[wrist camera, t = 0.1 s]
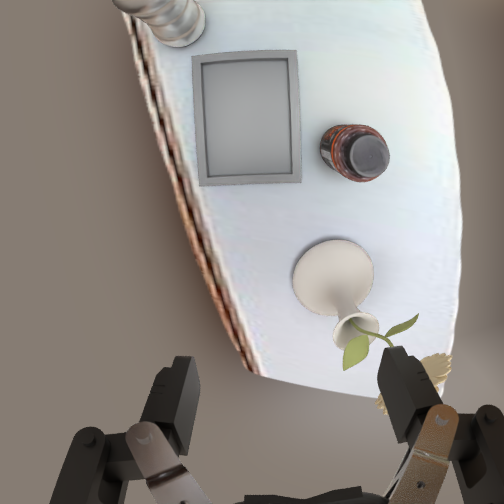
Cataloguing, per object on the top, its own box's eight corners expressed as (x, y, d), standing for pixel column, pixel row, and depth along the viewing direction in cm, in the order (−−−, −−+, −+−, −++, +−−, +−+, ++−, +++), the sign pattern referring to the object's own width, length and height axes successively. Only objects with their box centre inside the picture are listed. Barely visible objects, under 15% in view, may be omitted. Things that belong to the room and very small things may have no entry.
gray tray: (196, 60, 33) (191, 56, 30) (294, 54, 32) (296, 50, 30) (203, 182, 39) (199, 186, 36) (299, 179, 38) (301, 182, 36)
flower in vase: (303, 317, 46) (327, 465, 22) (281, 249, 42) (299, 394, 18) (385, 291, 44) (459, 419, 20) (372, 221, 40) (477, 330, 16)
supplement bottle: (345, 115, 35) (377, 111, 24) (372, 153, 36) (411, 164, 26) (308, 143, 36) (327, 148, 26) (337, 180, 38) (364, 200, 27)
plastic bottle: (157, 53, 32) (74, 4, 14) (161, 9, 30) (89, -59, 11) (207, 49, 32) (157, -17, 13) (209, 4, 29) (168, -81, 11)
